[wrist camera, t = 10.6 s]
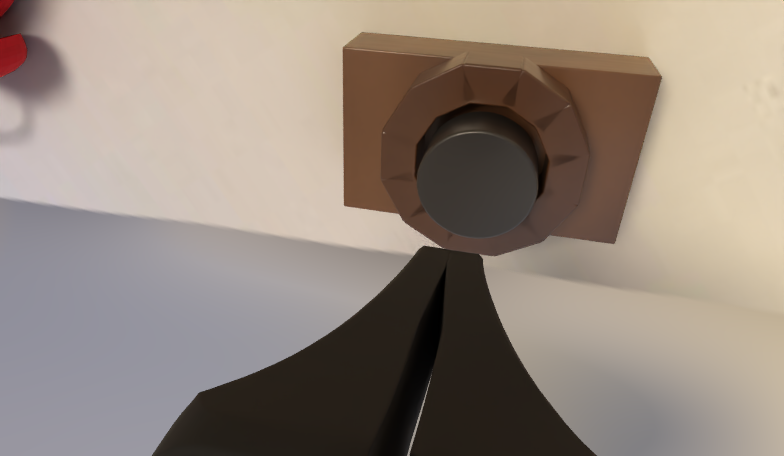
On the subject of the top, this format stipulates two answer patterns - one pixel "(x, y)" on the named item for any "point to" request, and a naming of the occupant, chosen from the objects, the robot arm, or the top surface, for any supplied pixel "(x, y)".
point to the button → (479, 175)
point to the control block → (505, 97)
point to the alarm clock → (11, 47)
